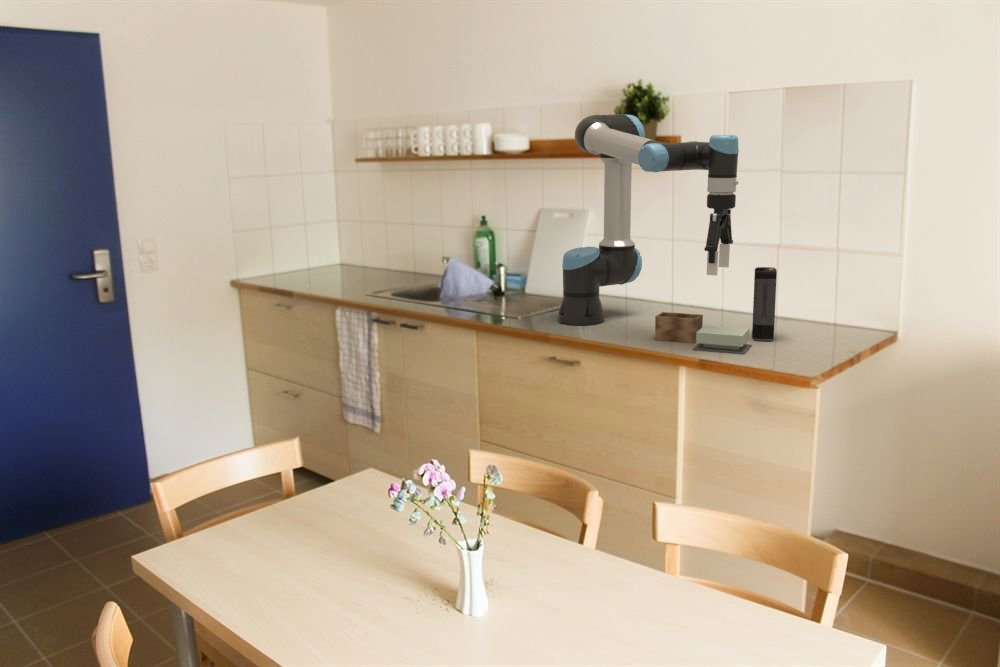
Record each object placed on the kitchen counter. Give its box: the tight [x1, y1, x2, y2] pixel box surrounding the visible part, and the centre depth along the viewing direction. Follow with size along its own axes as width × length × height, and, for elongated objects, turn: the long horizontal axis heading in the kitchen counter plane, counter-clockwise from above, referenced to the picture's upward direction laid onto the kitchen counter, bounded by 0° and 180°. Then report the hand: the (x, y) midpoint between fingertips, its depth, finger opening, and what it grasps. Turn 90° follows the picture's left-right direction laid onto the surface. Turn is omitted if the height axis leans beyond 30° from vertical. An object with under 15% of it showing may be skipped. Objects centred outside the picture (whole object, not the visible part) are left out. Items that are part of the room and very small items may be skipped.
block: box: [695, 325, 750, 350], centre depth 234 cm, size 12×9×4 cm
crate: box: [654, 311, 704, 344], centre depth 245 cm, size 12×7×7 cm, turn 63°
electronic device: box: [751, 266, 778, 342], centre depth 243 cm, size 9×6×20 cm, turn 163°
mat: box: [692, 343, 753, 355], centre depth 235 cm, size 14×10×1 cm
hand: (717, 271), depth 233 cm, fingers open, 13 cm apart
